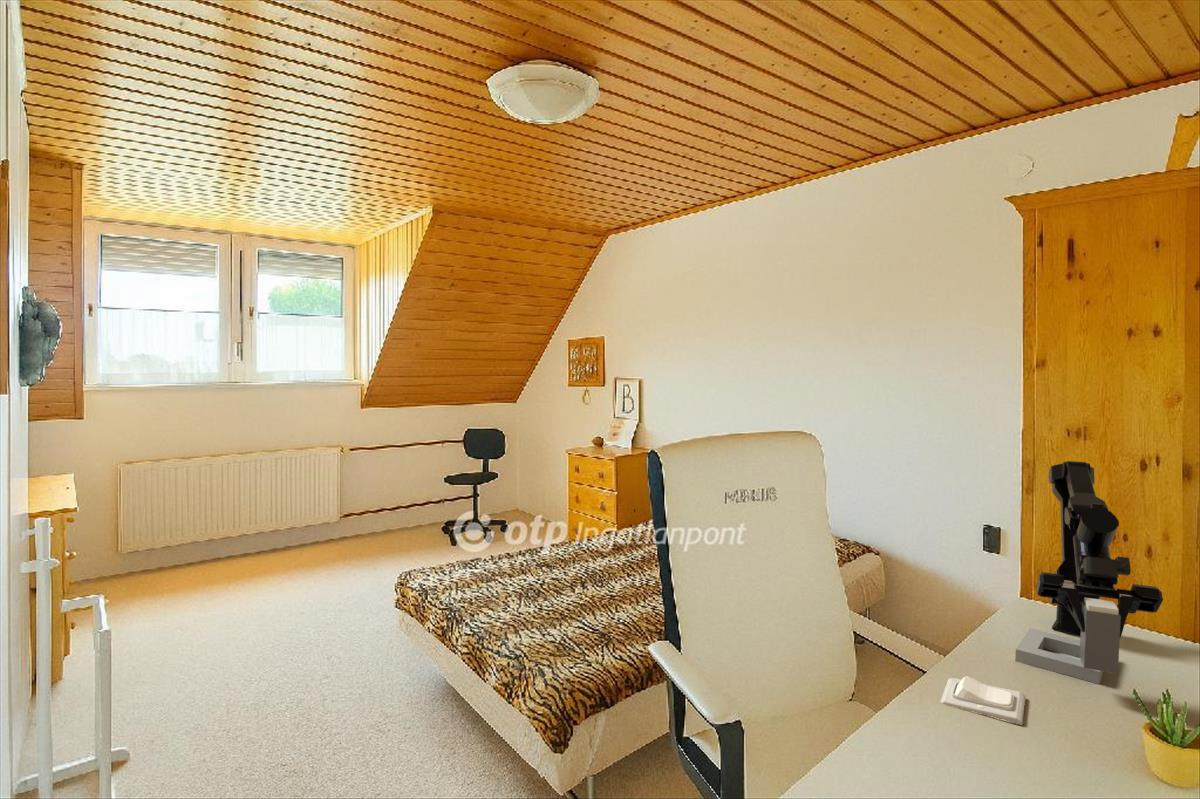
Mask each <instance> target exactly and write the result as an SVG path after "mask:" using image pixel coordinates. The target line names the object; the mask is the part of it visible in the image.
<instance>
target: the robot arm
mask: <svg viewBox="0 0 1200 799" xmlns="http://www.w3.org/2000/svg"><path fill="white" fill-rule="evenodd" d="M1048 483H1049V484H1051V491H1052V493H1053V495H1054V496H1055V498H1056V499H1057V500H1058V502H1059V503H1060V505H1059V506H1060V534H1061V535H1060V536H1061V538H1060V539H1061V563H1060V565H1059V566H1058V568H1057V569H1056V570H1055V572H1054V573H1053V572H1044V571H1042V572H1041V573H1039V574H1038V578H1037V583H1036V594H1037V596H1039V597H1041V598H1042V597H1043V598H1048V599H1049V600H1050V602H1051V604H1056V616H1055V617H1056V618H1055V621H1054V623H1052V625H1051V626H1052V627H1051V629H1052V630H1054V631H1058V632H1062V633H1067V634H1071V635H1075V636H1080V635H1081V631H1082V632H1084V631H1085V622H1084V617H1083V613H1082V602H1084V597H1085V598H1092V599H1100V600H1101V598H1106V599H1115V600H1117V605H1116V607H1117V608H1118V610H1119V611H1118V612H1119V614H1120V616H1121V621H1120V638H1121V637H1122V635H1123V632H1124V627H1125V624H1126V621H1127V617H1128V616H1129V614H1136V613H1137V611H1139V612H1146V613H1152V614H1153V613H1157V612H1158V610H1159V609H1160V606H1161V604H1162V603H1163V601H1164V598H1163V597H1164V596H1163V592H1162V591H1161V590H1160V589H1159V588H1158V587H1157V586H1155V585H1154V586H1152V585H1143V584H1137V583H1133V585H1132V586H1131V589H1129V590H1128V589H1122V588H1115V586H1116V585H1117V584H1118V582H1119V581H1118V579H1119V576H1129V575H1131V572H1132V569H1131V562H1130V557H1128V556H1127V557H1126V556H1125V557H1124V556H1116V557H1115V558H1114V559H1112V558H1111V552H1110V551H1111V550H1110V545H1112V543H1113V541H1114V538H1115V535H1116V533H1117V529H1118V528H1119V526H1120V520H1119V519H1118V518H1117V516H1115V515H1114V513H1113V512H1112V511H1111V510H1109V507H1108V505H1107V503H1106V501H1105V500H1103V499H1101V498H1099V497H1098V496H1097V495H1096V492H1095V488H1094V485H1095V468H1094V467H1092V466H1091V463H1090V462H1086V461H1073V460H1066V461H1063V462H1062V463H1058V464H1053V465H1051V466H1050V467H1049V470H1048Z"/></svg>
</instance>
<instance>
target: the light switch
mask: <svg viewBox="0 0 1200 799" xmlns="http://www.w3.org/2000/svg"><path fill="white" fill-rule="evenodd" d="M940 702H941V703H940V704H942V703H943V704H942V705H945V704H946V705H945V706H948V705H950V706H949V707H952V706H954V707H953V708H955V707H958V708H957V709H959V708H963V709H965V710H964V711H966V709H967V710H970V711H974V712H977V713H982V714H985V715H989V716H993V717H996V718H999V719H1004V720H1007V721H1010V722H1013V723H1016V724H1015V725H1018V724H1019V725H1018V726H1023V725H1024V724H1023V722H1024V714H1025V707H1026V706H1025V705H1026V695H1025V694H1024V693H1022V692H1021V691H1019V690H1018V691H1017V690H1013V689H1008V688H1003V687H999V686H995V685H989V684H984V683H983V682H980V681H978V680H976V679H974V678H973V677H969V676H967V675H966V676H963V678H962V679H959V678H956V677H955V678H954V677H951V678H948V680H947V683H946V685H945V688H944V690H943V694H942V696H941V699H940ZM1024 706H1025V707H1024ZM963 709H962V710H963ZM970 711H969V712H970ZM977 713H976V714H977ZM1013 723H1012V724H1013Z"/></svg>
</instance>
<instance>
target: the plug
mask: <svg viewBox="0 0 1200 799" xmlns="http://www.w3.org/2000/svg"><path fill="white" fill-rule="evenodd" d="M1118 611H1119V610H1118V608H1117V605H1116V604H1115V602H1114V601H1112V600H1106V599H1101V598H1100V599H1092V598H1085V597H1084V602H1082V613H1083V617H1084V622H1085V631H1084V632H1082V631H1081V635H1080V637H1079V638H1080V639H1079V640H1080V657H1079V660H1081V661H1082V664H1083V666H1084V668H1088V669H1093V670H1099V671H1104V673H1105V672H1106V673H1110V674H1116V675H1118V674H1119V661H1120V660H1119V658H1120V639H1121V637H1120V621H1121V616H1120V614H1119V612H1118Z"/></svg>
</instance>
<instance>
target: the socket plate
mask: <svg viewBox="0 0 1200 799" xmlns="http://www.w3.org/2000/svg"><path fill="white" fill-rule="evenodd" d="M1044 649H1046V650H1044ZM1049 649H1051V650H1050V651H1051V652H1050V651H1047V650H1049ZM1053 650H1054V652H1052V651H1053ZM1057 651H1058V652H1057ZM1056 652H1057V653H1056ZM1061 652H1063V653H1062V654H1059V653H1061ZM1065 653H1066V654H1065ZM1063 654H1065V655H1063ZM1069 654H1070V655H1069ZM1066 655H1069V656H1072V655H1073V656H1074V657H1077V658H1074V657H1069V656H1066ZM1078 658H1080V639H1077V638H1071V637H1069V636H1064V635H1060V634H1057V633H1054V632H1053V633H1052V632H1048V631H1044V630H1040V629H1036V628H1032V627H1029V628H1028V630H1027V631H1026V632H1025V635H1024V636H1023V638H1022V639H1021V641H1020V642H1019V643H1018V645H1017V647H1016V648H1015V659H1014V660H1015V662H1019V663H1022V664H1026V665H1030V666H1033V667H1037V668H1040V669H1045V670H1047V671H1050V672H1051V671H1052V672H1053V673H1054V672H1055V673H1057V674H1058V673H1059V674H1062V675H1065V676H1068V677H1072V678H1077V679H1079V680H1084V681H1086V682H1091V683H1095V684H1098V685H1101V681H1102V678H1103V677H1104V676H1103V675H1104V673H1105V672H1104V671H1099V670H1093V669H1088V668H1084V666H1083V664H1082V661H1081V659H1078Z"/></svg>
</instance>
